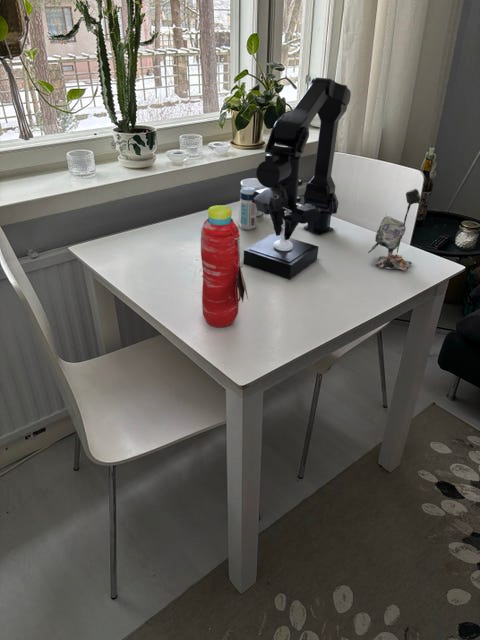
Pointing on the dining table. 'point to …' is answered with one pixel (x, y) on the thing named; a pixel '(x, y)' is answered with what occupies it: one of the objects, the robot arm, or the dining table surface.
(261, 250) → the stand
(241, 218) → the white supplement bottle
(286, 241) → the chess piece
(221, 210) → the water bottle
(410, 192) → the grey mottled stone figure
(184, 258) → the dining table surface
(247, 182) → the dixie cup
